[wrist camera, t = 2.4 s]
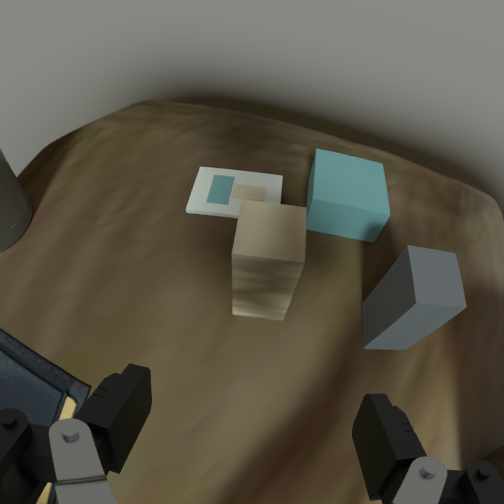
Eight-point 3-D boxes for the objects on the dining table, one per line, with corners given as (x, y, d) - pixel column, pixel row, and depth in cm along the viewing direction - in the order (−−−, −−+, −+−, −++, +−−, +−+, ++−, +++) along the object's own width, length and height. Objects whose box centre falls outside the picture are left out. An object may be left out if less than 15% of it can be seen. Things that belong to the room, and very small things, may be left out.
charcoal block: (362, 348, 26) (416, 303, 18) (361, 303, 29) (407, 245, 20) (404, 350, 26) (466, 307, 18) (401, 307, 29) (455, 253, 20)
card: (186, 212, 34) (185, 208, 33) (200, 169, 37) (200, 166, 37) (278, 223, 33) (279, 220, 33) (282, 178, 37) (282, 175, 37)
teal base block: (303, 230, 33) (312, 198, 29) (308, 179, 38) (316, 148, 33) (373, 243, 33) (390, 215, 29) (369, 192, 37) (382, 163, 33)
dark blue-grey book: (-11, 318, 24) (92, 386, 22) (-1, 325, 25) (100, 390, 23) (-58, 462, 13) (38, 554, 11) (-47, 464, 14) (48, 550, 13)
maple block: (232, 314, 28) (231, 253, 19) (239, 270, 30) (241, 199, 22) (283, 320, 27) (305, 262, 19) (286, 276, 30) (306, 207, 22)
